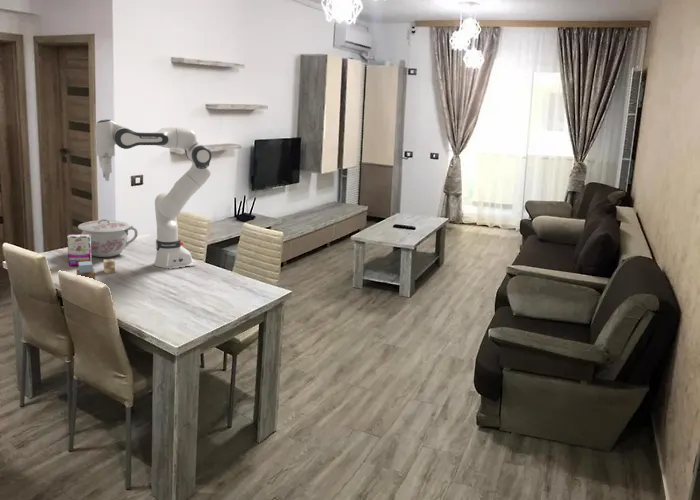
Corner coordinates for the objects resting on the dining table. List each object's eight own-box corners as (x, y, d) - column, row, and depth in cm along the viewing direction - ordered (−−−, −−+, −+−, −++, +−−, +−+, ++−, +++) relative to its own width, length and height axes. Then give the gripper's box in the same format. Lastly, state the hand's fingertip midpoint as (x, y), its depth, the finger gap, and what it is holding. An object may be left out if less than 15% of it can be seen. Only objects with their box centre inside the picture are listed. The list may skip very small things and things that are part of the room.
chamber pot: (67, 256, 339) (66, 220, 334) (101, 245, 365) (100, 211, 359) (110, 264, 332) (109, 227, 327) (141, 252, 357) (140, 218, 352)
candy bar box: (92, 263, 331) (91, 234, 326) (90, 266, 326) (89, 236, 322) (69, 263, 328) (68, 234, 323) (68, 266, 323) (66, 236, 319)
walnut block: (93, 275, 313) (93, 267, 312) (95, 280, 306) (95, 272, 305) (76, 276, 310) (76, 269, 308) (77, 281, 303) (77, 273, 302)
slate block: (91, 268, 311) (91, 261, 310) (92, 272, 306) (92, 264, 305) (78, 269, 308) (78, 262, 307) (79, 273, 303) (79, 265, 302)
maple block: (113, 269, 323) (113, 259, 322) (115, 272, 319) (114, 261, 318) (103, 270, 321) (103, 259, 320) (104, 273, 317) (104, 262, 315)
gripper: (114, 154, 302) (115, 182, 305) (109, 149, 319) (110, 175, 323) (100, 154, 299) (101, 182, 302) (96, 149, 316) (97, 175, 320)
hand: (106, 179), depth 313 cm, fingers open, 8 cm apart
